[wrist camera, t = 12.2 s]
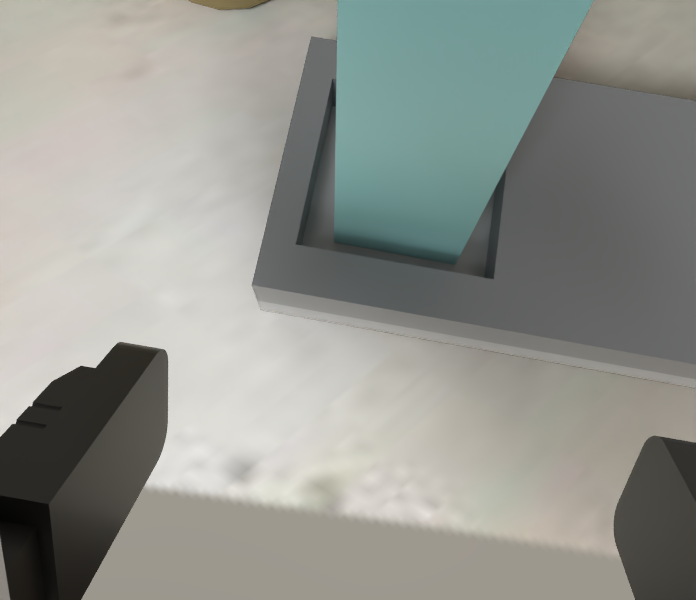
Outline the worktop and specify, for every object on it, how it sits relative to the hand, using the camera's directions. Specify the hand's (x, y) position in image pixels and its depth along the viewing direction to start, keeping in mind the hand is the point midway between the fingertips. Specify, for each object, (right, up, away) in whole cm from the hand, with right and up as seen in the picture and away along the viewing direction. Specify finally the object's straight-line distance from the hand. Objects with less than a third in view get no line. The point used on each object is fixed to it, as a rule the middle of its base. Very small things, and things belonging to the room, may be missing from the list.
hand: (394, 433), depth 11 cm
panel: (+7, +4, +11) cm, 14 cm away
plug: (+1, +6, +11) cm, 12 cm away
